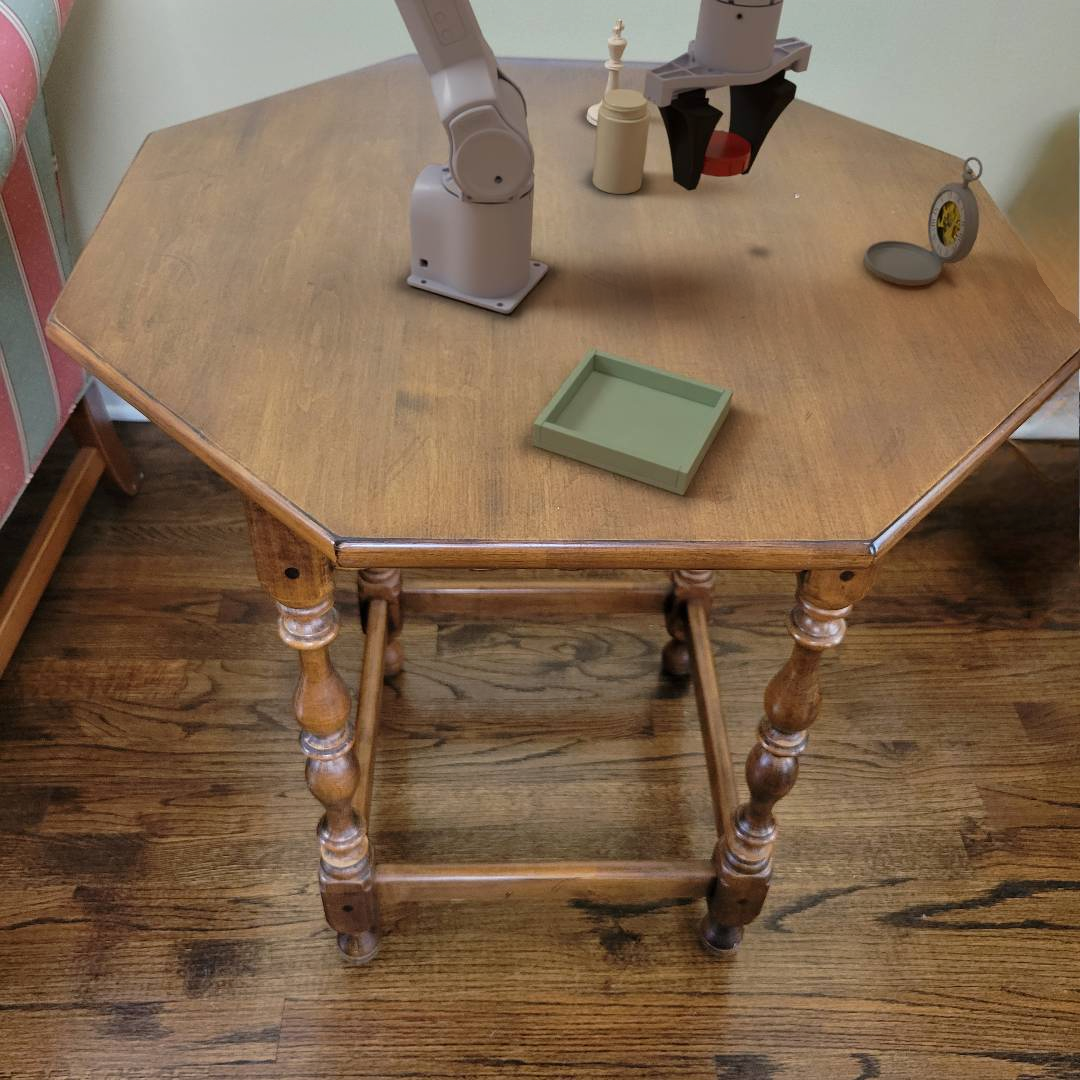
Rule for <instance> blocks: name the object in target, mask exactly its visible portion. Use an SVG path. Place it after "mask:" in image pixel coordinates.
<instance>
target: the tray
mask: <svg viewBox="0 0 1080 1080" xmlns="http://www.w3.org/2000/svg"><path fill="white" fill-rule="evenodd" d="M733 395H734V390H731V389H728V388H725V387H722V386H718V385H715V384H712V383H709V382H705V381H703V380H702V381H701V380H700V379H699V380H698V379H696V378H693V377H688V376H686V375H682V374H679V373H675V372H672V371H669V370H665V369H662V368H660V367H656V366H653V365H650V364H647V363H643V362H639V361H637V360H633V359H630V358H627V357H623V356H620V355H616V354H613V353H610V352H607V351H603V350H600V349H596V348H593V347H590V348H589V349H588V350H587V352H586V353H585V355H584V356H583V357H582V359H581V360H580V361H579V362H578V364H577V365H576V366H575V368H574V369H573V370H572V372H571V373H570V374H569V376H568V377H567V379H566V380H565V381H564V382H563V384H562V385H561V386H560V388H559V389H558V390H557V391H556V393H555V394H554V395H553V397H552V398H551V399H550V400H549V402H548V404H547V405H546V406H545V408H544V409H543V410H542V412H541V413H540V414H539V415H538V416H537V418H536V419H535V421H533V428H532V446H534V447H536V448H538V449H539V448H540V449H543V450H545V451H549V452H551V453H554V454H556V455H557V454H558V455H560V456H563V457H567V458H569V459H573V460H575V461H579V462H581V463H583V464H587V465H591V466H592V467H596V468H600V469H601V470H606V471H608V472H611V473H614V474H618V475H619V476H624V477H626V478H629V479H633V480H635V481H638V482H641V483H645V484H647V485H650V486H653V487H656V488H658V489H662V490H665V491H668V492H671V493H674V494H676V495H680V496H684V495H685V493H686V491H687V489H688V488H689V486H690V484H691V482H692V481H693V479H694V477H695V475H696V473H697V471H698V469H699V467H700V465H701V464H702V463H703V460H704V458H705V457H706V455H707V453H708V451H709V450H710V448H711V446H712V444H713V442H714V440H715V438H716V437H717V435H718V433H719V431H720V429H721V428H722V425H723V424H724V422H725V420H726V418H727V417H728V415H729V413H730V408H731V404H732V399H733Z"/></svg>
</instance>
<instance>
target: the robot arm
mask: <svg viewBox="0 0 1080 1080" xmlns="http://www.w3.org/2000/svg"><path fill="white" fill-rule="evenodd" d="M393 1H394V3H395V5H396V8H397V10H398V12H399V15H400V16H401V19H402V21H403V23H404V26H405V28H406V30H407V33H408V35H409V37H410V39H411V41H412V43H413V46H414V48H415V50H416V52H417V54H418V57H419V59H420V61H421V62H420V63H421V64H422V66H423V68H424V71H425V73H426V75H427V77H428V81H429V84H430V88H431V91H432V95H433V98H434V102H435V106H436V109H437V113H438V117H439V120H440V123H441V125H442V128H443V129H444V132H445V134H446V138H447V142H448V153H447V162H446V163H444V164H443V163H430V164H428V165H426V166H425V167H424V168H423V169H422V170H421V172H420V173H419V175H418V176H417V178H416V180H415V183H414V185H413V188H412V190H411V195H410V200H409V212H408V214H409V215H408V216H409V217H408V218H409V241H410V242H409V243H410V264H411V265H410V266H411V274H410V275H409V276H408V277H407V279H406V281H407V284H408V285H409V286H411V287H414V288H419V289H421V290H423V291H428V292H430V293H435V294H438V295H441V296H444V297H448V298H451V299H454V300H458V301H461V302H465V303H468V304H471V305H474V306H477V307H481V308H485V309H488V310H491V311H495V312H497V313H501V314H504V315H506V314H507V315H508V314H510V313H512V312H513V311H514V310H515V308H516V307H518V305H519V304H520V303H521V302H522V300H523V299H524V298H525V297H526V296H527V295H528V294H529V293H530V292H531V291H532V290H533V288H534V287H535V286H537V284H538V283H539V282H540V280H541V279H543V277H544V276H545V275H546V274H547V272H548V271H549V266H548V264H545V263H543V262H539V261H536V260H532V239H533V238H532V237H533V219H534V218H533V216H534V215H533V214H534V196H535V173H534V169H535V162H536V161H535V150H534V147H533V144H532V142H531V140H530V134H529V127H528V121H527V117H528V109H527V108H528V107H527V102H526V97H525V96H524V95H525V94H524V93H523V91H522V89H521V88H520V86H519V85H518V84H517V83H516V82H515V81H513V79H512V78H511V77H510V76H508V75H507V73H505V72H504V71H503V70H502V68H501V67H500V65H499V63H498V61H497V59H496V55H495V53H494V50H493V49H492V47H491V46H490V45H489V43H488V42H487V40H486V38H485V37H484V34H483V31H482V28H481V27H480V24H479V21H478V19H477V17H476V14H475V12H474V9H473V6H472V3H471V1H470V0H393ZM783 5H784V0H700V5H699V11H698V19H697V24H696V31H695V39H692V40H689V41H688V47H687V51H686V52H684V53H682V54H681V55H679V56H677V57H675V58H674V59H672V60H670V61H669V62H668V61H667V63H665V64H662V65H661V66H658V67H656V68H652V69H649V70H646V72H645V81H644V89H643V94H644V98H645V99H647V100H648V102H650V103H652V104H653V105H655V106H657V108H658V111H659V114H660V117H661V119H662V122H663V124H664V125H663V126H664V128H665V132H666V135H667V139H668V145H669V146H668V147H669V151H670V152H669V153H670V160H671V168H672V170H671V171H672V179H673V180H672V181H673V182H674V183H675V184H677V185H678V186H680V187H682V188H683V189H684V190H686V191H689V192H692V191H695V190H697V189H698V186H699V183H700V180H701V178H702V174H701V173H702V169H703V164H704V159H705V154H706V150H707V147H708V144H709V141H710V139H711V136H712V134H713V132H714V130H716V128H717V125H718V124H719V122H720V120H721V118H722V117H723V115H724V112H723V111H722V110H720V109H718V108H717V107H715V106H714V105H712V104H710V103H709V102H710V98H709V97H706V96H707V92H709V91H713V90H716V89H717V90H718V89H720V88H724V87H728V86H729V104H730V105H729V106H730V107H729V110H730V111H729V126H728V132H730V133H733V134H736V135H739V136H741V137H743V138H744V139H746V140H747V141H748V142H749V143H750V145H751V152H750V154H751V158H750V163H749V166H748V167H747V169H746V170H745V171H744V172H743V173H741V174H740V175H742V176H745V175H748V174H749V173H750V171H751V169H752V168H753V165H754V163H755V160H756V159H757V157H758V154H759V152H760V150H761V148H762V146H763V144H764V143H765V140H766V138H767V137H768V134H769V133H770V131H771V129H772V128H773V126H774V124H775V123H776V122H777V120H778V119H779V117H780V116H781V115H782V113H784V111H785V110H786V108H787V107H788V106H789V105H790V104H791V103H792V102H793V101H794V100H795V98H796V93H797V88H798V86H797V84H796V83H795V82H793V81H792V80H789V79H787V78H785V77H786V74H787V73H786V72H788V71H792V72H793V73H802V72H803V73H804V72H806V71H807V70H808V66H809V62H810V58H811V54H812V48H813V44H811V43H809V42H807V41H805V40H803V39H800V38H798V37H796V36H790V37H783V38H777V36H778V31H779V30H778V29H779V26H780V22H781V15H782V10H783Z"/></svg>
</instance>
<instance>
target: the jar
mask: <svg viewBox="0 0 1080 1080" xmlns="http://www.w3.org/2000/svg"><path fill="white" fill-rule="evenodd" d="M602 100H603V102H602V105H601V106H600V107H599V110H598V120H597V126H596V134H595V142H594V143H595V144H594V154H593V158H594V159H593V166H592V176H591V177H592V178H591V182H592V184H593V186H594V187H595V188H596V189H598V190H600V191H602V192H605V193H609V194H613V195H629V194H631V193H635V192H637V191H639V190H640V189H641V188H642V185H643V179H644V169H645V161H646V155H647V144H648V138H649V129H650V121H651V111H650V109H649V108H648V105H649V103H648V102H649V100H647V99H645V98H644V93H643V92H639V91H638V90H633V89H628V88H627V89H626V88H619V89H617V90H612V91H609V92H607V93H606V94H605V93H604V95H603V99H602Z"/></svg>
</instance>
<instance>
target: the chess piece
mask: <svg viewBox="0 0 1080 1080" xmlns="http://www.w3.org/2000/svg"><path fill="white" fill-rule="evenodd" d="M611 30H612V31H611V33H612V34H614V35H613V36H611V37H609V38H608V39H607V40H606V42H607V43H606V44H607V47H608V53H609V54H608V55H609V57H610V58H609V59H608V60H606V61H605V63H604V67H605V68H606V69H607V70H609V72H608V76H607V77H608V79H607V83H606V88H605V92H604V95H605V94H606V93H607V92H609V91H612V90H617V89H620V71H622V70H624V69H626V64H625V62H624V61H623V60H622V57H623V55H624V52H625V49H626V47H627V45H628V40H627V39H626V38H624V37H623V36H621V35H622V32H623V31H624V30H625V24H623V19H620V18H617V19H616V20H615V26H614V27H613V28H612V29H611ZM603 100H604V99H602V100H600V102H599V103H595V104H593V105H591V106H589V108H588V110H587V114H586V120H587V121H588V122H589V123H590V124H591V125H593V126H595V127H597V120H598V110H599V107H600V106H601V105H602V102H603Z"/></svg>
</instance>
